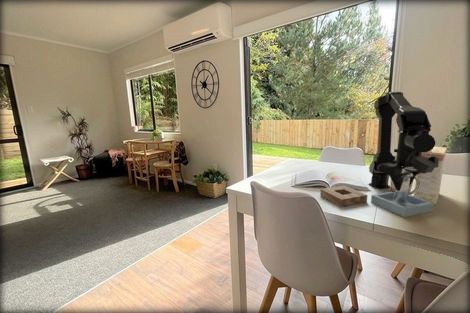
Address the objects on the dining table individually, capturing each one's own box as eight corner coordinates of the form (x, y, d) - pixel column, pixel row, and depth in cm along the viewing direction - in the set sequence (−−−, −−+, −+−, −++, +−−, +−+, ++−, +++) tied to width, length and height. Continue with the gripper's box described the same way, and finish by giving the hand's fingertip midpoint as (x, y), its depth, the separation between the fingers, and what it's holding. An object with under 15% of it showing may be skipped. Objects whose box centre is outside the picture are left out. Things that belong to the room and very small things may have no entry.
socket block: (343, 191, 98) (344, 185, 98) (366, 202, 87) (367, 195, 86) (320, 195, 95) (320, 188, 94) (341, 207, 84) (341, 199, 83)
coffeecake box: (418, 189, 98) (424, 145, 94) (440, 193, 93) (447, 147, 89) (412, 200, 88) (418, 151, 84) (436, 205, 83) (444, 153, 79)
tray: (396, 197, 91) (397, 190, 90) (432, 211, 78) (433, 203, 78) (370, 202, 87) (371, 194, 86) (404, 217, 75) (405, 208, 74)
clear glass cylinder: (399, 198, 85) (403, 169, 83) (412, 203, 81) (416, 172, 78) (389, 199, 84) (393, 170, 82) (402, 205, 79) (406, 174, 77)
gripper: (411, 153, 68) (405, 201, 71) (454, 148, 73) (446, 193, 76) (378, 147, 78) (374, 190, 82) (418, 143, 84) (412, 183, 87)
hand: (402, 189), depth 81 cm, fingers closed on clear glass cylinder, 4 cm apart
